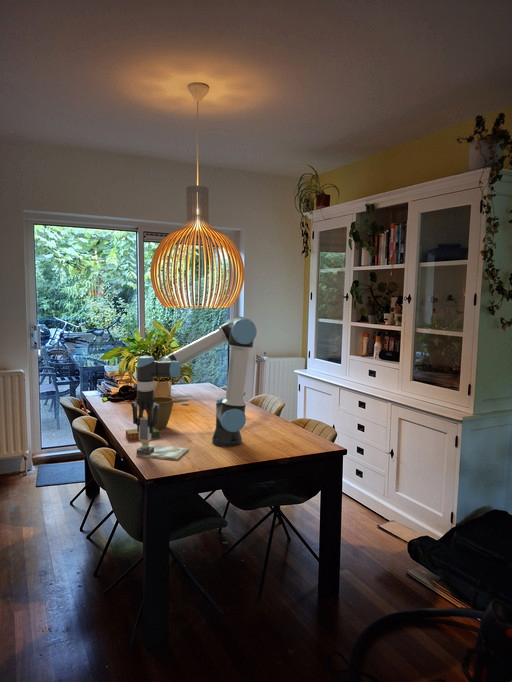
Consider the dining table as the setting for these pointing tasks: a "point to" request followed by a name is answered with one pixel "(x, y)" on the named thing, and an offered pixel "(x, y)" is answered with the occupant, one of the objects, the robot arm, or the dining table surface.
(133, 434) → the carton
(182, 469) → the dining table surface
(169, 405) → the plant pot
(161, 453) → the white tray
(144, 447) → the button
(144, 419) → the grey rectangular bar
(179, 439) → the dining table surface
